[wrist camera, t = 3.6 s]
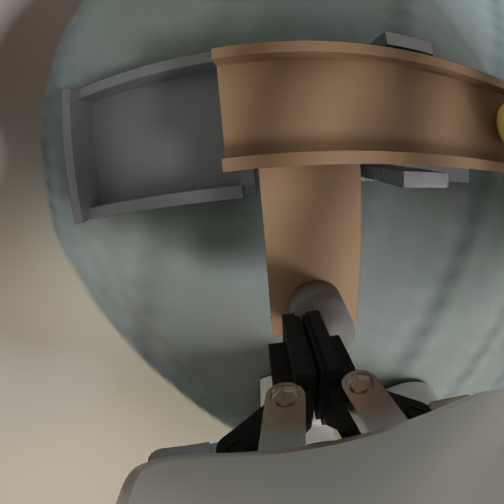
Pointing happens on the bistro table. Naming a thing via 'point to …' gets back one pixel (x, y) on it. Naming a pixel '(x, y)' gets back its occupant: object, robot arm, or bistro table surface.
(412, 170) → the stand
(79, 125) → the tray
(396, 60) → the lever
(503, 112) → the ball
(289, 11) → the bistro table surface
